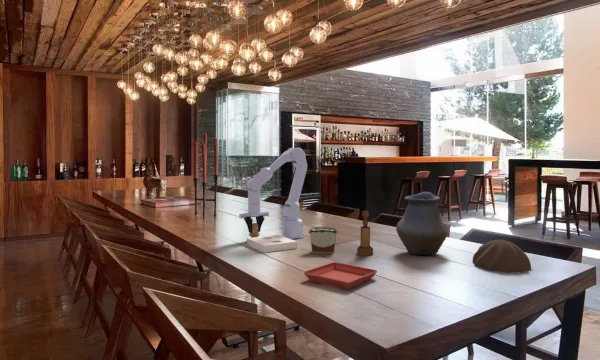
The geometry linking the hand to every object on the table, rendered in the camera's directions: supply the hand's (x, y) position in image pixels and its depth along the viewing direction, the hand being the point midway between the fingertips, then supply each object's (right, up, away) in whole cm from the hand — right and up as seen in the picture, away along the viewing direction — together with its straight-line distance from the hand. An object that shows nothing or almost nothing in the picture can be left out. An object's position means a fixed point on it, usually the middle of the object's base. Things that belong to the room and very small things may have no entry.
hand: (254, 232), depth 204 cm
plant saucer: (+35, -9, -63) cm, 72 cm away
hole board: (+9, -5, -13) cm, 16 cm away
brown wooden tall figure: (+49, -6, -27) cm, 56 cm away
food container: (+32, -6, -22) cm, 39 cm away
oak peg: (0, -4, 0) cm, 4 cm away
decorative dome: (+96, -7, -45) cm, 106 cm away
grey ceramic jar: (+72, -6, -25) cm, 77 cm away
